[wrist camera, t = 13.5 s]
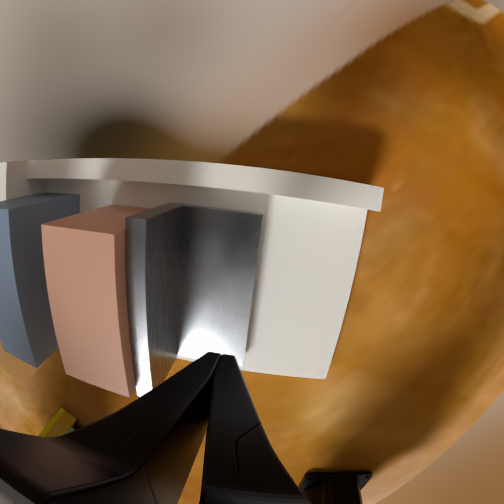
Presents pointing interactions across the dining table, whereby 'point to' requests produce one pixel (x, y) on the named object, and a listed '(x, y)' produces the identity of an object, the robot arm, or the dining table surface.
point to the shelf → (203, 194)
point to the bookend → (188, 285)
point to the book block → (91, 295)
